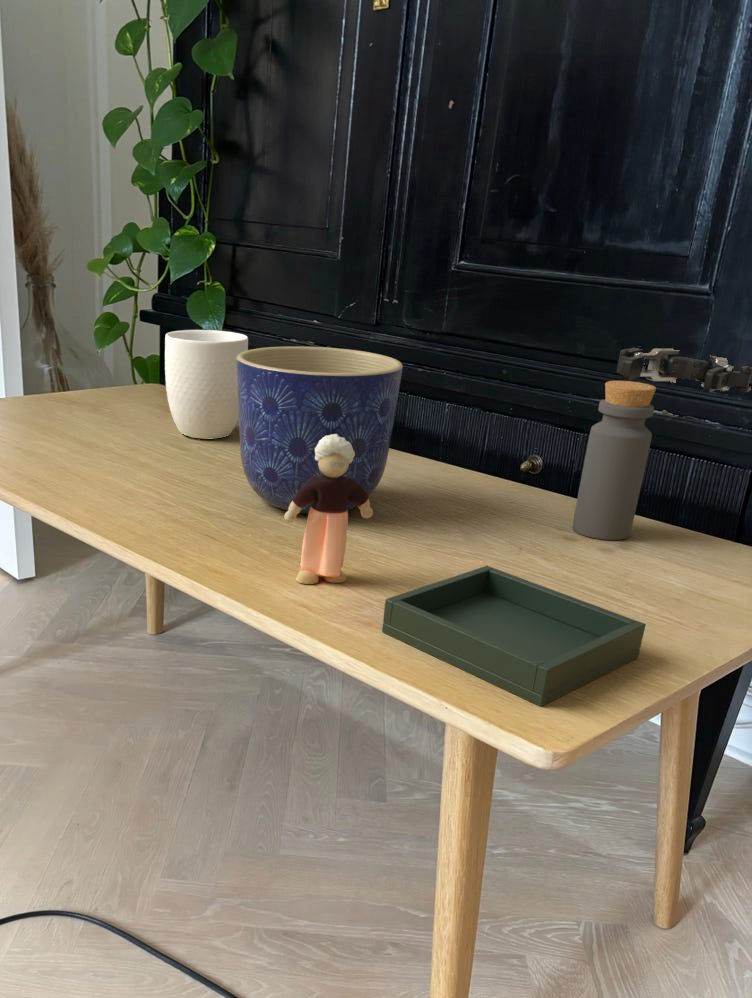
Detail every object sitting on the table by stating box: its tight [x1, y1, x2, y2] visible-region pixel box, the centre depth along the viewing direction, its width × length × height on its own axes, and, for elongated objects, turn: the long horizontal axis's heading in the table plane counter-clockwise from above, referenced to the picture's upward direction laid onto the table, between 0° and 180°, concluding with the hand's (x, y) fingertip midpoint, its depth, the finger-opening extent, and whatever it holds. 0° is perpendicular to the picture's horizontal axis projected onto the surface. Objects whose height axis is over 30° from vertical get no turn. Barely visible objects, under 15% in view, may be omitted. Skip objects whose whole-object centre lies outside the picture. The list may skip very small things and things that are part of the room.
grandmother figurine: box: [283, 434, 374, 585], centre depth 80 cm, size 8×4×13 cm, turn 114°
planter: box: [236, 346, 404, 515], centre depth 99 cm, size 17×17×15 cm
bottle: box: [572, 380, 657, 541], centre depth 95 cm, size 6×6×15 cm
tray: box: [381, 565, 647, 707], centre depth 71 cm, size 15×13×3 cm
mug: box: [164, 329, 249, 438], centre depth 128 cm, size 15×11×13 cm
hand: (666, 375), depth 100 cm, fingers open, 8 cm apart
